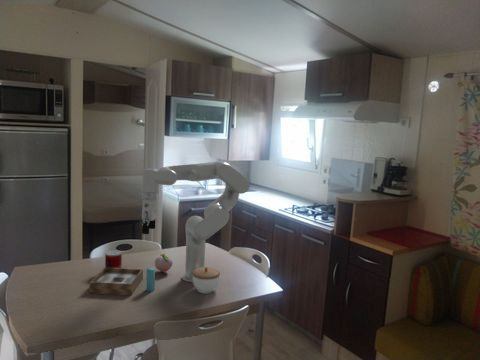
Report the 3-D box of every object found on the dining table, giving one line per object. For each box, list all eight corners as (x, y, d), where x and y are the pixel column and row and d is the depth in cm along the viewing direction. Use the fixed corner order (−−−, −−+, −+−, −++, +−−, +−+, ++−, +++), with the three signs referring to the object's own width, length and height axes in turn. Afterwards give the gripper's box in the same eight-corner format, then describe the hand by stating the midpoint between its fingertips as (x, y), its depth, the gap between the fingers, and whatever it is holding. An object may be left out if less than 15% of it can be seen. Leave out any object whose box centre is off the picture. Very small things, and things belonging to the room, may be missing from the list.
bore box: (142, 279, 190) (143, 269, 190) (131, 295, 172) (131, 284, 171) (105, 277, 190) (105, 267, 190) (89, 293, 172) (89, 282, 171)
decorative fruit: (151, 271, 201) (151, 252, 200) (165, 268, 206) (165, 250, 205) (160, 277, 194) (161, 257, 193) (174, 273, 199) (175, 254, 198)
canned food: (123, 271, 199) (124, 250, 198) (117, 277, 191) (117, 255, 190) (109, 270, 200) (109, 249, 198) (102, 275, 192) (102, 254, 191)
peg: (155, 288, 180) (155, 267, 179) (153, 291, 177) (153, 270, 175) (147, 288, 180) (148, 267, 179) (145, 291, 177) (145, 270, 175)
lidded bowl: (186, 288, 182) (187, 266, 180) (208, 282, 190) (209, 261, 188) (201, 298, 172) (202, 274, 171) (224, 292, 180) (225, 269, 179)
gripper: (152, 199, 171) (150, 236, 173) (163, 193, 188) (161, 227, 190) (135, 197, 171) (134, 235, 173) (147, 191, 188) (146, 226, 191)
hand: (148, 231), depth 182 cm, fingers open, 9 cm apart
